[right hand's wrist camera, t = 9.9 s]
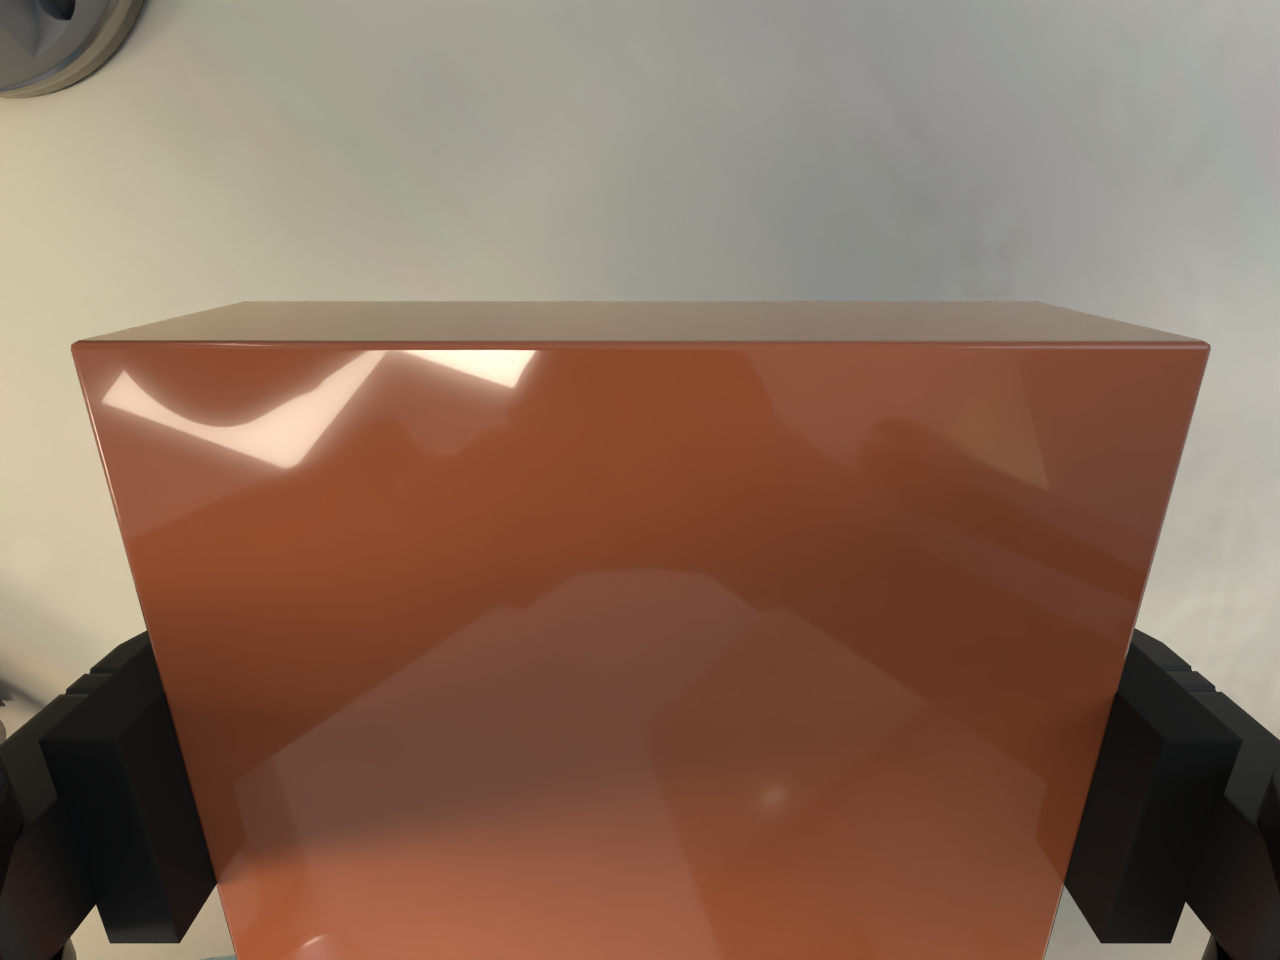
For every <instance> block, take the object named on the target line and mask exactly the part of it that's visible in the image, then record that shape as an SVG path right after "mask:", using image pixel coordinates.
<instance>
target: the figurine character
mask: <svg viewBox="0 0 1280 960" xmlns="http://www.w3.org/2000/svg"><path fill="white" fill-rule="evenodd" d="M0 706H5V704H4V703H3V702H2V701H1V699H0ZM5 739H6V729H5V727H4V725H3V723H2V722H1V720H0V745H1V744H2V743H3V742H4V741H5Z"/></svg>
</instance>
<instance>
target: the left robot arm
mask: <svg viewBox="0 0 1280 960" xmlns="http://www.w3.org/2000/svg"><path fill="white" fill-rule="evenodd" d="M201 960H237V958H236V956H222V957H213V958H207V959H201Z"/></svg>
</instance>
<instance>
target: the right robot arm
mask: <svg viewBox="0 0 1280 960" xmlns="http://www.w3.org/2000/svg"><path fill="white" fill-rule="evenodd" d="M143 1H144V0H0V98H25V97H31V96H37V95H43V94H47V93H50V92H53V91H57V90H60V89H62V88H64V87H67V86H69V85H71V84H73V83H75V82H77V81H79V80H80V79H82V78H84V77H85V76H87V75H89V74H90V73H91V72H93V71H94V70H95V69H96V68H98V67H99V66H100V65H101V64H103V63H104V62H105V61H106V60H107V59H108V58H109V57H110V56H111V55H112V53H113V52H114V51H115V50H116V49H117V48H118V46H119V45H120V44H121V42H122V41H123V40H124V38H125V37H126V35H127V34H128V32H129V30H130V29H131V27H132V25H133V23H134V22H135V20H136V17H137V15H138V13H139V11H140V8H141V6H142V4H143ZM1064 885H1065V887H1066V888H1067V890H1068V891H1069V893H1070V895H1071V896H1072V898H1073V899H1074V901H1075V903H1076V904H1077V906H1078V907H1079V909H1080V910H1081V912H1082V914H1083V915H1084V917H1085V918H1086V920H1087V922H1088V923H1089V925H1090V926H1091V928H1092V930H1093V931H1094V933H1095V934H1096V936H1097V938H1098V939H1099V941H1100V942H1101V943H1171V941H1172V938H1173V935H1174V932H1175V930H1176V927H1177V924H1178V921H1179V918H1180V916H1181V913H1182V910H1183V907H1184V904H1185V901H1186V902H1187V904H1188V905H1189V906H1190V908H1191V909H1192V910H1193V911H1194V913H1195V914H1196V915H1197V916H1198V918H1199V919H1200V920H1201V922H1202V923H1203V924H1204V925H1205V927H1206V928H1207V929H1208V930H1209V932H1210V933H1211V936H1210V939H1209V941H1208V944H1207V947H1206V949H1205V952H1204V954H1203V957H1202V960H1280V740H1279V739H1278V738H1276V737H1275V736H1274V735H1273V734H1272V733H1270V732H1269V731H1268V730H1267V729H1266V728H1264V727H1263V726H1262V725H1261V724H1260V723H1258V722H1257V721H1256V720H1255V719H1254V718H1252V717H1251V716H1250V715H1249V714H1248V713H1246V712H1245V711H1244V710H1243V709H1242V708H1240V707H1239V706H1238V705H1237V704H1236V703H1234V702H1233V701H1232V700H1231V699H1230V698H1228V697H1227V696H1226V695H1225V694H1224V693H1222V692H1216V690H1215V686H1214V685H1213V684H1212V683H1210V682H1209V681H1208V680H1207V679H1206V678H1204V677H1203V676H1202V675H1201V674H1200V673H1198V672H1197V671H1192V670H1191V666H1190V665H1189V664H1188V663H1186V662H1185V661H1184V660H1183V659H1182V658H1180V657H1179V656H1178V655H1177V654H1176V653H1174V652H1173V651H1172V650H1171V649H1170V648H1168V647H1167V646H1166V645H1165V644H1164V643H1162V642H1160V641H1158V640H1156V639H1154V638H1153V637H1151V636H1149V635H1147V634H1145V633H1143V632H1141V631H1139V630H1137V629H1135V628H1134V632H1133V635H1132V639H1131V643H1130V646H1129V650H1128V654H1127V657H1126V661H1125V665H1124V668H1123V672H1122V676H1121V679H1120V683H1119V687H1118V690H1117V693H1116V696H1115V700H1114V704H1113V707H1112V711H1111V715H1110V718H1109V722H1108V726H1107V729H1106V733H1105V737H1104V740H1103V744H1102V748H1101V751H1100V755H1099V759H1098V762H1097V766H1096V770H1095V773H1094V777H1093V781H1092V784H1091V788H1090V792H1089V795H1088V799H1087V803H1086V806H1085V810H1084V814H1083V817H1082V821H1081V825H1080V828H1079V832H1078V836H1077V839H1076V843H1075V847H1074V850H1073V854H1072V857H1071V861H1070V865H1069V868H1068V872H1067V876H1066V879H1065V883H1064ZM215 886H216V881H215V877H214V873H213V870H212V866H211V862H210V859H209V855H208V851H207V848H206V844H205V840H204V837H203V833H202V829H201V826H200V822H199V818H198V815H197V811H196V807H195V804H194V800H193V796H192V793H191V789H190V785H189V782H188V778H187V774H186V771H185V767H184V763H183V760H182V756H181V752H180V749H179V745H178V741H177V738H176V734H175V730H174V727H173V723H172V719H171V716H170V712H169V708H168V705H167V701H166V697H165V694H164V690H163V686H162V683H161V679H160V675H159V672H158V668H157V664H156V661H155V657H154V653H153V650H152V646H151V642H150V639H149V635H148V631H145V632H143V633H141V634H139V635H137V636H135V637H133V638H132V639H130V640H128V641H126V642H124V643H122V644H120V645H118V646H117V647H116V648H115V649H114V650H112V651H111V652H110V653H109V654H108V655H107V656H105V657H104V658H103V659H102V660H101V661H99V662H98V663H97V664H96V665H95V666H93V667H92V668H91V669H90V674H84V675H83V676H82V677H80V678H79V679H78V680H77V681H76V682H74V683H73V684H72V685H71V686H70V687H68V688H67V689H66V694H65V695H59V696H58V697H57V698H55V699H54V700H53V701H52V702H51V703H49V704H48V705H47V706H46V707H45V708H43V709H42V710H41V711H40V712H39V713H37V714H36V715H35V716H34V717H33V718H31V719H30V720H29V721H28V722H27V723H26V724H24V725H23V726H22V727H21V728H20V729H18V730H17V731H16V732H15V733H14V734H12V735H11V736H10V737H9V738H8V739H6V740H5V741H4V742H3V743H2V744H1V745H0V960H77V959H76V953H75V949H74V947H73V944H72V941H71V939H70V937H71V935H72V934H73V933H74V932H75V930H76V929H77V928H78V926H79V925H80V924H81V923H82V921H83V920H84V919H85V917H86V916H87V915H88V914H89V912H90V911H91V910H92V908H93V907H94V906H95V905H97V908H98V911H99V914H100V917H101V919H102V922H103V925H104V928H105V931H106V933H107V936H108V939H109V942H110V943H180V942H181V940H182V938H183V937H184V935H185V934H186V932H187V930H188V929H189V927H190V926H191V924H192V922H193V921H194V919H195V918H196V916H197V914H198V913H199V911H200V910H201V908H202V906H203V905H204V903H205V902H206V900H207V898H208V897H209V895H210V894H211V892H212V890H213V889H214V887H215Z"/></svg>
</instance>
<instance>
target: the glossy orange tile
mask: <svg viewBox="0 0 1280 960" xmlns="http://www.w3.org/2000/svg"><path fill="white" fill-rule="evenodd" d="M71 353H72V356H73V360H74V364H75V367H76V371H77V375H78V378H79V382H80V386H81V389H82V393H83V397H84V400H85V404H86V408H87V411H88V415H89V419H90V422H91V426H92V430H93V433H94V437H95V441H96V444H97V448H98V452H99V455H100V459H101V463H102V466H103V470H104V474H105V477H106V481H107V485H108V488H109V492H110V496H111V499H112V503H113V507H114V510H115V514H116V518H117V521H118V525H119V529H120V532H121V536H122V540H123V543H124V547H125V551H126V554H127V558H128V562H129V565H130V569H131V573H132V576H133V580H134V584H135V587H136V591H137V595H138V598H139V602H140V606H141V609H142V613H143V617H144V620H145V624H146V628H147V631H148V635H149V639H150V642H151V646H152V650H153V653H154V657H155V661H156V664H157V668H158V672H159V675H160V679H161V683H162V686H163V690H164V694H165V697H166V701H167V705H168V708H169V712H170V716H171V719H172V723H173V727H174V730H175V734H176V738H177V741H178V745H179V749H180V752H181V756H182V760H183V763H184V767H185V771H186V774H187V778H188V782H189V785H190V789H191V793H192V796H193V800H194V804H195V807H196V811H197V815H198V818H199V822H200V826H201V829H202V833H203V837H204V840H205V844H206V848H207V851H208V855H209V859H210V862H211V866H212V870H213V873H214V877H215V881H216V884H217V888H218V892H219V895H220V899H221V903H222V906H223V910H224V914H225V917H226V921H227V925H228V928H229V932H230V936H231V939H232V943H233V947H234V950H235V954H236V958H237V960H1044V957H1045V954H1046V950H1047V946H1048V943H1049V939H1050V935H1051V932H1052V928H1053V925H1054V921H1055V917H1056V914H1057V910H1058V906H1059V903H1060V899H1061V895H1062V892H1063V888H1064V883H1065V879H1066V876H1067V872H1068V868H1069V865H1070V861H1071V857H1072V854H1073V850H1074V847H1075V843H1076V839H1077V836H1078V832H1079V828H1080V825H1081V821H1082V817H1083V814H1084V810H1085V806H1086V803H1087V799H1088V795H1089V792H1090V788H1091V784H1092V781H1093V777H1094V773H1095V770H1096V766H1097V762H1098V759H1099V755H1100V751H1101V748H1102V744H1103V740H1104V737H1105V733H1106V729H1107V726H1108V722H1109V718H1110V715H1111V711H1112V707H1113V704H1114V700H1115V696H1116V693H1117V690H1118V687H1119V683H1120V679H1121V676H1122V672H1123V668H1124V665H1125V661H1126V657H1127V654H1128V650H1129V646H1130V643H1131V639H1132V635H1133V632H1134V628H1135V624H1136V621H1137V617H1138V613H1139V610H1140V606H1141V603H1142V599H1143V595H1144V592H1145V588H1146V584H1147V581H1148V577H1149V573H1150V570H1151V566H1152V562H1153V559H1154V555H1155V551H1156V548H1157V544H1158V540H1159V537H1160V533H1161V529H1162V526H1163V522H1164V518H1165V515H1166V511H1167V507H1168V504H1169V500H1170V496H1171V493H1172V489H1173V485H1174V482H1175V478H1176V474H1177V471H1178V467H1179V463H1180V460H1181V456H1182V452H1183V449H1184V445H1185V442H1186V438H1187V434H1188V431H1189V427H1190V423H1191V420H1192V416H1193V412H1194V409H1195V405H1196V401H1197V398H1198V394H1199V390H1200V387H1201V383H1202V379H1203V376H1204V372H1205V368H1206V365H1207V361H1208V357H1209V354H1210V345H1209V344H1208V343H1207V342H1205V341H1203V340H1198V339H1194V338H1190V337H1186V336H1181V335H1177V334H1173V333H1169V332H1164V331H1160V330H1156V329H1151V328H1147V327H1143V326H1139V325H1134V324H1130V323H1126V322H1122V321H1117V320H1113V319H1109V318H1105V317H1100V316H1096V315H1092V314H1087V313H1083V312H1079V311H1075V310H1070V309H1066V308H1062V307H1058V306H1053V305H1049V304H1045V303H1041V302H240V303H236V304H232V305H228V306H223V307H219V308H215V309H210V310H206V311H202V312H198V313H193V314H189V315H185V316H181V317H176V318H172V319H168V320H164V321H159V322H155V323H151V324H147V325H142V326H138V327H134V328H130V329H125V330H121V331H117V332H113V333H108V334H104V335H100V336H96V337H91V338H87V339H83V340H79V341H77V342H74V343H73V344H72V345H71Z"/></svg>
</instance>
